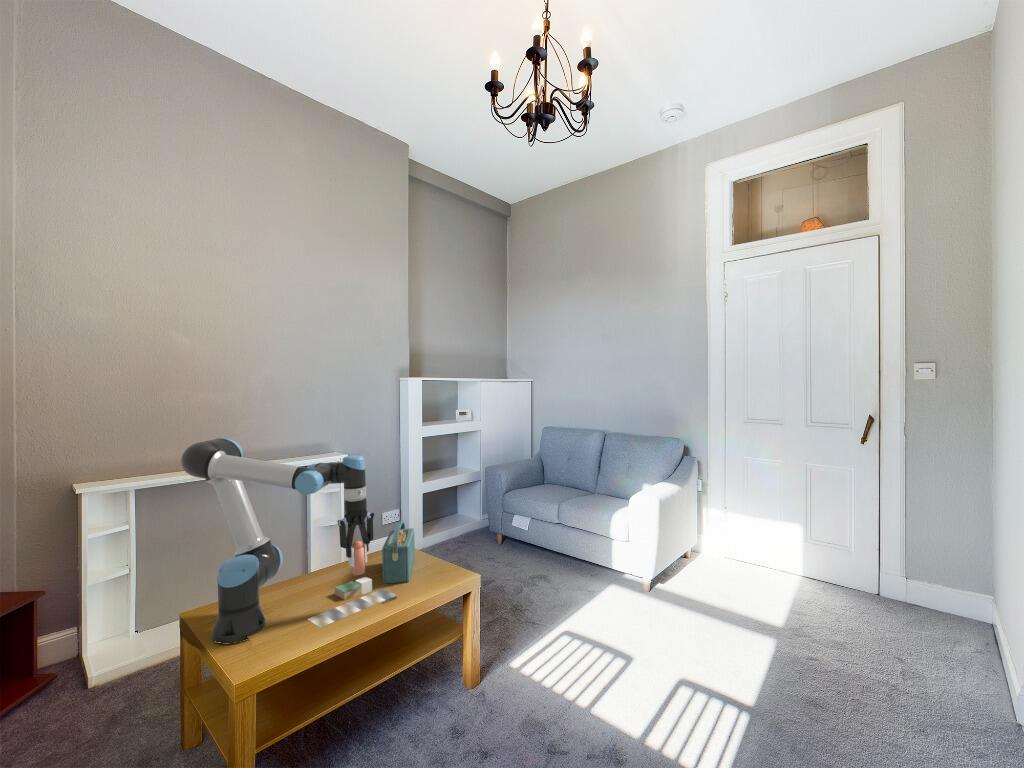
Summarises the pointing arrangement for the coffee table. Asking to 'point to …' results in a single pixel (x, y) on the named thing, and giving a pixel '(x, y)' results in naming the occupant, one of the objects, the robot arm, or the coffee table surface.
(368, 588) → the white cube
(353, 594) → the stand
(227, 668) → the coffee table surface
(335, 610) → the board
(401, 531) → the radio
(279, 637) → the coffee table surface
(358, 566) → the pink rounded cylinder
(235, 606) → the robot arm
